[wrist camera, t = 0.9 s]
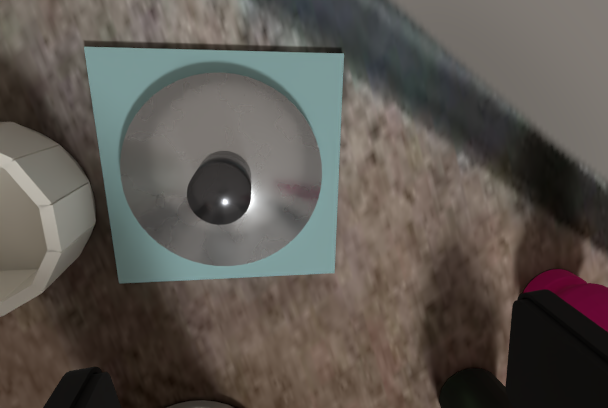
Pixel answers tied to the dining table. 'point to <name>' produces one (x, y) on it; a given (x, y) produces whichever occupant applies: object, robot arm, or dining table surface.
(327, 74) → the teal mat
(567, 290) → the pepper mill
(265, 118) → the metal lid
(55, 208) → the white faceted bowl
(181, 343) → the dining table surface
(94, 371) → the robot arm
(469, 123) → the dining table surface
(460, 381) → the potion bottle
